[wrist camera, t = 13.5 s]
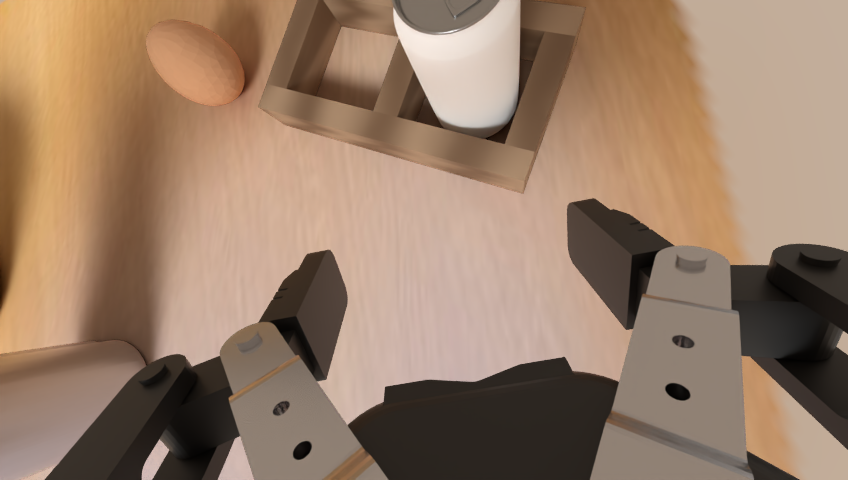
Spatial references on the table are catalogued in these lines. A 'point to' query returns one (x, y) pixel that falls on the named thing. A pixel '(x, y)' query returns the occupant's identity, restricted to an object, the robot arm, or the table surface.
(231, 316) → the table surface
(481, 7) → the can
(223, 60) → the egg
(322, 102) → the rack
